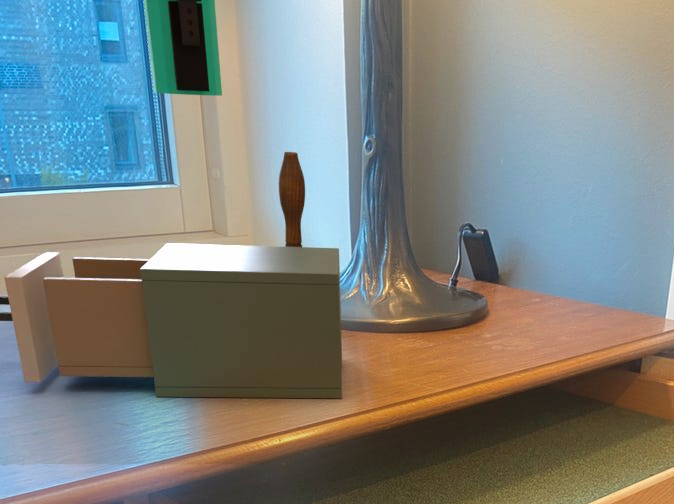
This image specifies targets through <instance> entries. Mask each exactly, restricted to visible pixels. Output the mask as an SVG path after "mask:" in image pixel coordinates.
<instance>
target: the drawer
mask: <svg viewBox="0 0 674 504" xmlns="http://www.w3.org/2000/svg"><path fill="white" fill-rule="evenodd" d="M150 259H151V258H125V257H124V258H121V257H87V256H85V257H84V256H83V257H82V256H74V257H73V258H72V266H73V272H74V277H64V270H63V265H62V259H61V253H60V252H49V251H48V252H44V253H42V254H40V255H39V256H37V257H35V258H34V259H32V260H30V261H29V262H27V263H25V264H24V265H22V266H20V267H18V268H17V269H15V270H13V271H12V272H10V273H9V274H6V275H5V276H4V283H5V288H6V293H7V295H0V306H1V305H2V306H9V308H10V309H9V310H10V311H0V322H12V324H13V329H14V334H15V339H16V345H17V350H18V354H19V359H20V365H21V370H22V374H23V379H24V383H41V382H42V381H43V380H45V378H47V376H48V375H49V374H50V373H51V372H53V370H54V369H55V368H56V367H58V372H59V376H60V377H100V378H103V377H104V378H105V377H106V378H107V377H109V378H121V377H122V378H154V376H153V368H152V360H151V352H150V344H149V336H148V328H147V321H146V313H145V305H144V297H143V289H142V280H141V274H140V269H141V268H142V267H143V266H144V265H145V264H146V263H147V262H148V261H149V260H150Z"/></svg>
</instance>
